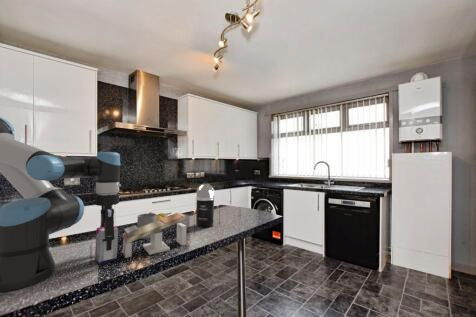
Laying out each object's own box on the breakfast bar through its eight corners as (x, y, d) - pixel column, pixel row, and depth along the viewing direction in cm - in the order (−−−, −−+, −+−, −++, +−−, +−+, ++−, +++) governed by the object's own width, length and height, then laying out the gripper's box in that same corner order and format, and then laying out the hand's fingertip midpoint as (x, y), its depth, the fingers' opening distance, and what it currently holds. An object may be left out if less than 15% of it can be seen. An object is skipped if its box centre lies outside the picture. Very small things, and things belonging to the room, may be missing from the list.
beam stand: (126, 259, 80) (127, 237, 81) (121, 251, 88) (122, 230, 89) (187, 245, 95) (188, 226, 95) (179, 239, 103) (179, 221, 103)
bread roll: (167, 222, 132) (167, 209, 132) (174, 226, 125) (174, 212, 125) (145, 226, 124) (145, 212, 124) (151, 230, 117) (151, 215, 117)
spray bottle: (212, 228, 121) (213, 182, 122) (194, 228, 121) (194, 182, 122) (214, 223, 132) (215, 181, 132) (197, 223, 132) (198, 181, 132)
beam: (127, 245, 81) (125, 235, 81) (123, 239, 88) (121, 229, 88) (187, 220, 95) (185, 211, 95) (179, 216, 102) (177, 208, 102)
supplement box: (117, 259, 81) (118, 227, 81) (99, 264, 77) (100, 231, 77) (112, 254, 85) (113, 224, 85) (94, 259, 81) (95, 227, 81)
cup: (148, 239, 102) (149, 217, 103) (133, 238, 104) (133, 216, 104) (158, 233, 111) (159, 213, 111) (144, 232, 112) (144, 213, 113)
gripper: (124, 196, 74) (123, 262, 74) (114, 189, 93) (113, 242, 92) (98, 198, 70) (96, 268, 69) (93, 191, 89) (91, 245, 88)
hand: (106, 253), depth 81 cm, fingers open, 11 cm apart
